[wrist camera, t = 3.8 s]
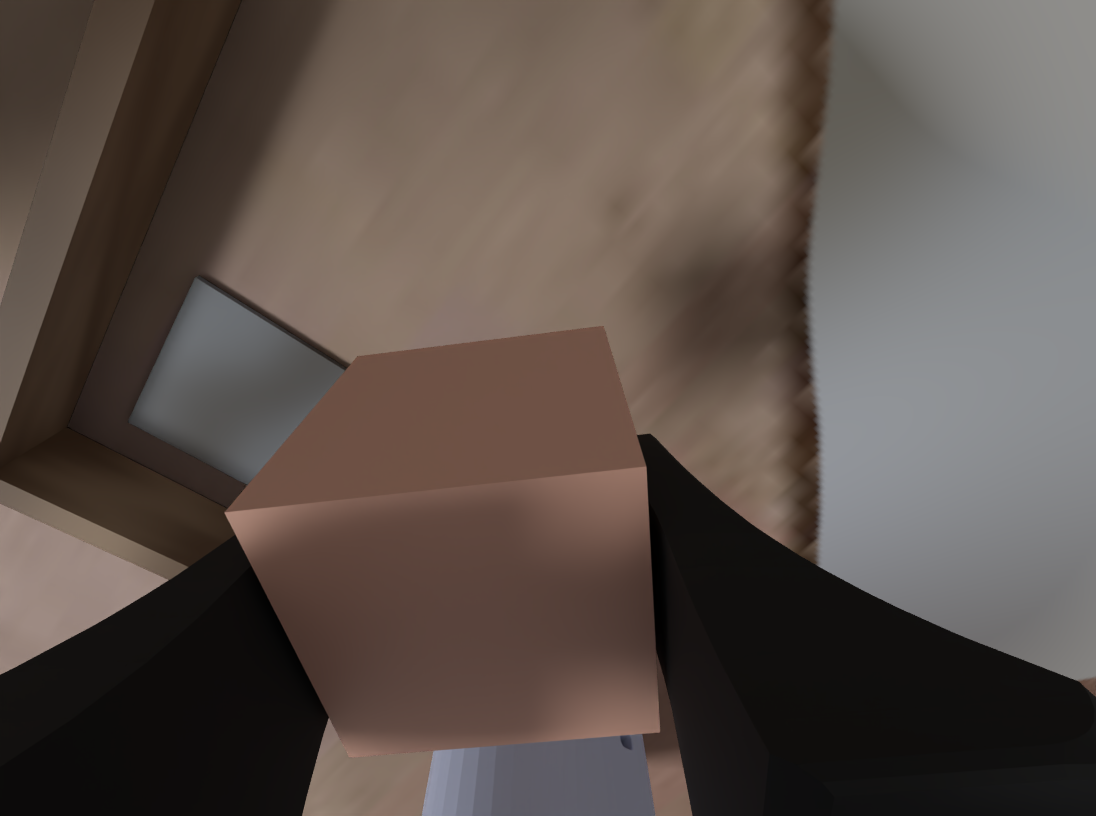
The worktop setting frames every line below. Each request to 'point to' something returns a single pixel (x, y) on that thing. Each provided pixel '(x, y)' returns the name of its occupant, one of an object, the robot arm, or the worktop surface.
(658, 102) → the worktop surface
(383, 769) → the worktop surface
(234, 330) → the arena
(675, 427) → the worktop surface
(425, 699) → the cube
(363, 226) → the worktop surface
